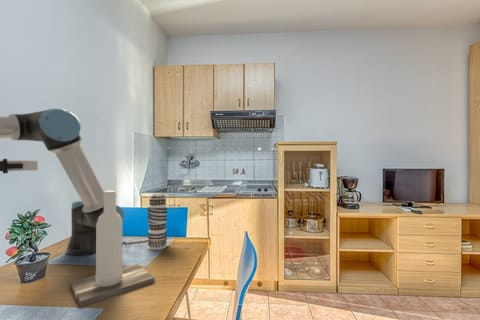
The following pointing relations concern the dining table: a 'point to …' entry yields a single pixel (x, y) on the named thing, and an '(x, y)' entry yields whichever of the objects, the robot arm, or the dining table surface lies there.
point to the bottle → (109, 243)
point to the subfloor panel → (91, 292)
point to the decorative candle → (157, 222)
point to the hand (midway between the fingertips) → (35, 165)
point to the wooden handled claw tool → (135, 242)
